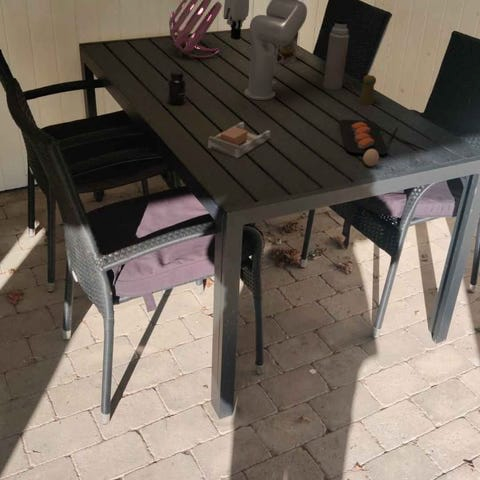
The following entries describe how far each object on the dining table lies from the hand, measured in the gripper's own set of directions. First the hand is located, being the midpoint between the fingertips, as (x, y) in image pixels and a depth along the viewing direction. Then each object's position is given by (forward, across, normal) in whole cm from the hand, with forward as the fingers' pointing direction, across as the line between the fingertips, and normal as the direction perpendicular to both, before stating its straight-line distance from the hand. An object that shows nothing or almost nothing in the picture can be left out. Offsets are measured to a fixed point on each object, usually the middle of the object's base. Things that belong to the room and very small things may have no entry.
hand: (235, 38), depth 242 cm
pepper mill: (+27, -43, +37) cm, 63 cm away
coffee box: (+27, -65, -15) cm, 72 cm away
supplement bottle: (+27, +9, -20) cm, 35 cm away
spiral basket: (+27, -45, -52) cm, 74 cm away
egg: (+27, +10, +63) cm, 69 cm away
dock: (+27, +24, +20) cm, 41 cm away
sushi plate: (+28, -12, +58) cm, 66 cm away
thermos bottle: (+27, -50, +18) cm, 60 cm away
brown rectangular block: (+26, +28, +20) cm, 43 cm away
